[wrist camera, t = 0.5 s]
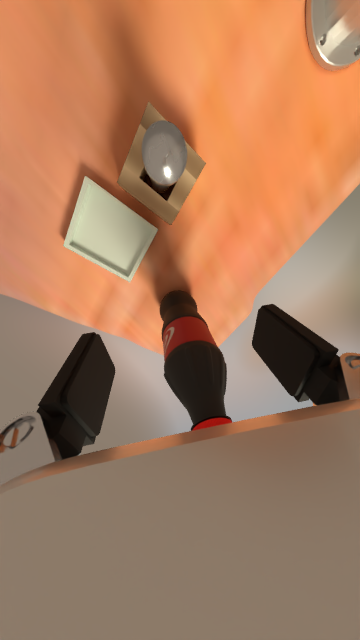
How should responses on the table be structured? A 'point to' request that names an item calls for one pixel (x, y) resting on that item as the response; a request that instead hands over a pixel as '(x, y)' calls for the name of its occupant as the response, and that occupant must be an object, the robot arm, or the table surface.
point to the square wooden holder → (136, 172)
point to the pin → (164, 154)
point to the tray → (108, 231)
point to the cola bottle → (193, 361)
